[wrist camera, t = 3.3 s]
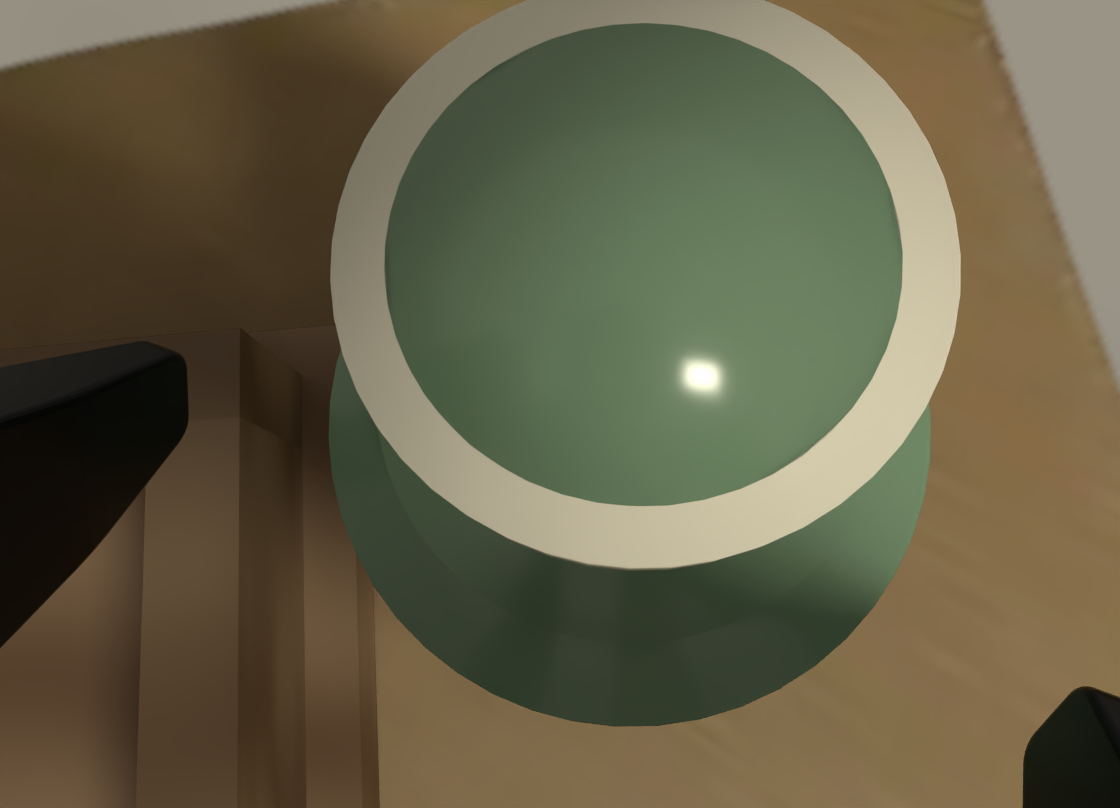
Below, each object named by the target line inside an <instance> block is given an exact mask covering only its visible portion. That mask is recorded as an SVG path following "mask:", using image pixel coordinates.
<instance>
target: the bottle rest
mask: <svg viewBox="0 0 1120 808" xmlns="http://www.w3.org/2000/svg"><path fill="white" fill-rule="evenodd" d="M138 341H148V342H152V343H155V344H158V345H160V346H163V347H166V348H169V349H171V350H174V351H177V352H178V353H180V354H181V355H182V356H183V357H184V359H185V361H186V364H187V377H188V405H189V421H188V426H187V429H186V432H185V434H184V436H183V438H182V439H181V441H180V442H179V444H178V445H177V446H176V448H175V449H174V450H173V451H172V453H171V454H170V455H169V457H168V458H167V459H166V460H165V462H164V463H163V464H162V466H161V467H160V468H159V469H158V471H157V472H156V473H155V474H154V476H153V477H152V478H151V480H150V481H149V482H148V483H147V485H146V486H145V487H144V489H143V490H142V491H141V492H140V494H139V495H138V496H137V497H136V499H135V500H134V501H133V503H132V504H131V505H130V506H129V508H128V509H127V510H126V512H125V513H124V514H123V515H122V517H121V518H120V519H119V520H118V522H117V523H116V524H115V526H114V527H113V528H112V529H111V531H110V532H109V533H108V534H107V536H106V537H105V538H104V539H103V540H102V542H101V543H100V544H99V545H98V546H97V548H96V549H95V550H94V551H93V552H92V553H91V554H90V556H89V557H88V558H87V559H86V560H85V561H84V562H83V563H82V564H81V565H80V566H79V568H78V569H77V570H76V571H75V572H74V573H73V574H72V575H71V576H70V577H69V578H68V579H67V580H66V581H65V582H64V583H63V584H62V585H61V586H60V587H59V588H58V589H57V590H56V591H55V592H54V593H53V595H52V596H51V597H50V598H49V599H48V600H47V601H46V602H45V603H44V604H43V605H42V606H41V607H40V608H39V609H38V610H37V611H36V612H35V613H34V614H33V615H32V616H31V617H30V618H29V619H28V620H27V621H26V622H25V623H24V625H23V626H22V627H21V628H20V629H19V630H18V631H17V632H16V633H15V634H14V635H13V636H12V637H11V638H10V639H9V640H8V641H7V642H6V643H5V644H4V645H3V646H2V647H1V648H0V808H380V803H379V769H378V735H377V702H376V668H375V635H374V601H373V584H372V582H371V580H370V578H369V577H368V575H367V573H366V571H365V569H364V567H363V565H362V564H361V562H360V560H359V558H358V556H357V554H356V552H355V550H354V548H353V545H352V543H351V540H350V537H349V535H348V532H347V529H346V527H345V524H344V521H343V519H342V516H341V513H340V509H339V504H338V500H337V495H336V491H335V487H334V482H333V478H332V470H331V459H330V448H329V416H330V398H331V392H332V387H333V381H334V375H335V369H336V364H337V360H338V357H339V354H340V351H341V346H340V341H339V337H338V333H337V329H336V325H325V326H314V327H303V328H292V329H281V330H270V331H259V332H248V333H246V332H245V331H243V330H242V329H241V328H234V329H224V330H213V331H202V332H191V333H180V334H169V335H158V336H147V337H136V338H125V339H114V340H103V341H92V342H81V343H70V344H60V345H49V346H38V347H27V348H16V349H5V350H0V367H4V366H10V365H15V364H20V363H26V362H31V361H36V360H42V359H47V358H52V357H58V356H63V355H68V354H74V353H79V352H84V351H90V350H95V349H100V348H106V347H111V346H116V345H122V344H127V343H132V342H138Z"/></svg>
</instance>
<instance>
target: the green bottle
mask: <svg viewBox="0 0 1120 808" xmlns="http://www.w3.org/2000/svg"><path fill="white" fill-rule="evenodd" d="M960 264H961V254H960V247H959V240H958V232H957V225H956V218H955V213H954V210H953V206H952V203H951V199H950V196H949V192H948V189H947V185H946V182H945V178H944V176H943V174H942V172H941V169H940V167H939V165H938V162H937V160H936V158H935V156H934V153H933V151H932V149H931V147H930V144H929V142H928V141H927V139H926V138H925V136H924V134H923V133H922V131H921V129H920V128H919V126H918V124H917V123H916V121H915V120H914V118H913V116H912V115H911V113H910V111H909V110H908V109H907V107H906V106H905V105H904V104H903V103H902V101H901V100H900V99H899V98H898V96H897V95H896V94H895V93H894V91H893V90H892V89H891V88H890V86H889V85H888V84H887V83H886V82H885V80H884V79H883V78H881V77H880V76H879V75H878V74H877V73H876V72H875V71H874V70H873V69H872V68H871V67H870V66H869V65H868V64H867V63H866V62H865V61H864V60H863V59H862V58H861V57H859V56H858V55H857V54H856V53H855V52H853V51H852V50H851V49H849V48H848V47H847V46H845V45H844V44H843V43H841V42H840V41H839V40H837V39H836V38H835V37H833V36H832V35H831V34H829V33H828V32H826V31H825V30H823V29H821V28H819V27H818V26H816V25H814V24H812V23H811V22H809V21H807V20H805V19H804V18H802V17H800V16H798V15H797V14H795V13H793V12H791V11H788V10H786V9H784V8H781V7H779V6H777V5H774V4H772V3H769V2H767V1H765V0H527V1H524V2H522V3H520V4H517V5H515V6H512V7H510V8H508V9H505V10H503V11H500V12H498V13H497V14H495V15H493V16H491V17H489V18H488V19H486V20H484V21H482V22H481V23H479V24H477V25H475V26H473V27H472V28H470V29H468V30H466V31H465V32H464V33H462V34H461V35H460V36H458V37H457V38H455V39H454V40H453V41H451V42H450V43H449V44H447V45H446V46H444V47H443V48H442V49H440V50H439V51H438V52H436V53H435V54H434V55H433V56H432V57H431V58H430V59H429V60H428V61H427V62H426V63H425V64H423V65H422V66H421V67H420V68H419V69H418V70H417V71H416V72H415V73H414V74H413V75H412V76H411V77H410V78H409V79H408V80H407V81H406V82H405V84H404V85H403V86H402V87H401V88H400V89H399V91H398V92H397V93H396V94H395V95H394V97H393V98H392V99H391V100H390V101H389V103H388V104H387V105H386V106H385V108H384V109H383V111H382V112H381V114H380V116H379V117H378V119H377V120H376V122H375V123H374V125H373V126H372V128H371V130H370V131H369V133H368V134H367V136H366V137H365V140H364V142H363V144H362V146H361V148H360V150H359V152H358V154H357V156H356V158H355V161H354V163H353V165H352V167H351V169H350V171H349V175H348V178H347V181H346V184H345V187H344V190H343V193H342V196H341V199H340V202H339V205H338V211H337V216H336V222H335V227H334V233H333V239H332V250H331V274H330V283H331V293H332V304H333V314H334V321H335V325H336V329H337V333H338V337H339V341H340V346H341V351H340V354H339V357H338V360H337V364H336V369H335V375H334V381H333V387H332V392H331V398H330V416H329V448H330V459H331V470H332V478H333V482H334V487H335V491H336V495H337V500H338V504H339V509H340V513H341V516H342V519H343V521H344V524H345V527H346V529H347V532H348V535H349V537H350V540H351V543H352V545H353V548H354V550H355V552H356V554H357V556H358V558H359V560H360V562H361V564H362V565H363V567H364V569H365V571H366V573H367V575H368V577H369V578H370V580H371V582H372V584H373V586H374V587H375V588H376V590H377V591H378V593H379V594H380V595H381V597H382V598H383V599H384V601H385V602H386V604H387V605H388V606H389V608H390V609H391V610H392V612H393V613H394V615H395V616H396V617H397V618H398V620H399V621H400V622H401V623H402V624H403V625H404V626H405V627H406V628H407V629H408V630H409V631H410V632H411V633H412V634H413V635H414V636H415V637H416V638H417V639H418V640H419V641H420V642H421V644H422V645H423V646H424V647H425V648H427V649H428V650H429V651H430V652H432V653H433V654H434V655H435V656H437V657H438V658H439V659H441V660H442V661H443V662H444V663H446V664H447V665H448V666H449V667H451V668H452V669H453V670H454V671H456V672H457V673H458V674H460V675H462V676H464V677H465V678H467V679H469V680H470V681H472V682H474V683H475V684H477V685H479V686H480V687H482V688H484V689H486V690H487V691H489V692H491V693H492V694H494V695H497V696H499V697H501V698H504V699H506V700H509V701H511V702H513V703H516V704H518V705H520V706H523V707H525V708H528V709H530V710H533V711H536V712H540V713H544V714H548V715H551V716H555V717H559V718H563V719H566V720H570V721H575V722H583V723H591V724H599V725H608V726H660V725H666V724H673V723H679V722H685V721H692V720H698V719H702V718H706V717H709V716H712V715H716V714H719V713H722V712H726V711H729V710H732V709H736V708H739V707H742V706H744V705H746V704H748V703H750V702H752V701H755V700H757V699H759V698H761V697H763V696H765V695H768V694H770V693H772V692H774V691H776V690H778V689H780V688H782V687H783V686H785V685H786V684H788V683H789V682H791V681H793V680H794V679H796V678H797V677H799V676H800V675H802V674H803V673H805V672H806V671H808V670H810V669H811V668H813V667H814V666H815V665H817V664H818V663H819V662H820V661H821V660H822V659H824V658H825V657H826V656H827V655H828V654H829V653H830V652H832V651H833V650H834V649H835V648H836V647H837V646H838V645H840V644H841V643H842V642H843V641H844V640H845V639H846V638H847V637H848V636H849V635H850V634H851V633H852V632H853V630H854V629H855V628H856V627H857V626H858V625H859V623H860V622H861V621H862V620H863V619H864V618H865V617H866V615H867V614H868V613H869V612H870V611H871V610H872V608H873V607H874V606H875V604H876V603H877V601H878V599H879V598H880V596H881V595H882V593H883V592H884V590H885V589H886V587H887V586H888V584H889V582H890V581H891V579H892V578H893V576H894V575H895V573H896V571H897V569H898V567H899V564H900V562H901V560H902V558H903V556H904V554H905V551H906V549H907V547H908V545H909V543H910V541H911V538H912V536H913V533H914V530H915V526H916V523H917V520H918V516H919V513H920V510H921V506H922V503H923V500H924V495H925V488H926V482H927V475H928V469H929V462H930V429H931V418H930V410H929V400H930V398H931V396H932V394H933V391H934V389H935V387H936V385H937V383H938V381H939V379H940V377H941V374H942V372H943V369H944V366H945V363H946V359H947V356H948V353H949V349H950V346H951V343H952V340H953V336H954V332H955V326H956V319H957V313H958V306H959V299H960Z"/></svg>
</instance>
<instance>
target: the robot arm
mask: <svg viewBox="0 0 1120 808" xmlns="http://www.w3.org/2000/svg"><path fill="white" fill-rule="evenodd" d="M188 421H189V405H188V377H187V364H186V361H185V359H184V357H183V356H182V355H181V354H180V353H178V352H177V351H174V350H171V349H169V348H166V347H163V346H160V345H158V344H155V343H152V342H148V341H138V342H132V343H127V344H122V345H116V346H111V347H106V348H100V349H95V350H90V351H84V352H79V353H74V354H68V355H63V356H58V357H52V358H47V359H42V360H36V361H31V362H26V363H20V364H15V365H10V366H4V367H0V648H1V647H2V646H3V645H4V644H5V643H6V642H7V641H8V640H9V639H10V638H11V637H12V636H13V635H14V634H15V633H16V632H17V631H18V630H19V629H20V628H21V627H22V626H23V625H24V623H25V622H26V621H27V620H28V619H29V618H30V617H31V616H32V615H33V614H34V613H35V612H36V611H37V610H38V609H39V608H40V607H41V606H42V605H43V604H44V603H45V602H46V601H47V600H48V599H49V598H50V597H51V596H52V595H53V593H54V592H55V591H56V590H57V589H58V588H59V587H60V586H61V585H62V584H63V583H64V582H65V581H66V580H67V579H68V578H69V577H70V576H71V575H72V574H73V573H74V572H75V571H76V570H77V569H78V568H79V566H80V565H81V564H82V563H83V562H84V561H85V560H86V559H87V558H88V557H89V556H90V554H91V553H92V552H93V551H94V550H95V549H96V548H97V546H98V545H99V544H100V543H101V542H102V540H103V539H104V538H105V537H106V536H107V534H108V533H109V532H110V531H111V529H112V528H113V527H114V526H115V524H116V523H117V522H118V520H119V519H120V518H121V517H122V515H123V514H124V513H125V512H126V510H127V509H128V508H129V506H130V505H131V504H132V503H133V501H134V500H135V499H136V497H137V496H138V495H139V494H140V492H141V491H142V490H143V489H144V487H145V486H146V485H147V483H148V482H149V481H150V480H151V478H152V477H153V476H154V474H155V473H156V472H157V471H158V469H159V468H160V467H161V466H162V464H163V463H164V462H165V460H166V459H167V458H168V457H169V455H170V454H171V453H172V451H173V450H174V449H175V448H176V446H177V445H178V444H179V442H180V441H181V439H182V438H183V436H184V434H185V432H186V429H187V426H188ZM1023 808H1120V697H1118V696H1115V695H1112V694H1110V693H1107V692H1104V691H1101V690H1099V689H1096V688H1093V687H1087V686H1083V687H1079V688H1077V689H1075V690H1073V691H1072V692H1071V693H1070V694H1069V695H1068V696H1067V697H1066V698H1065V700H1064V701H1063V702H1062V703H1061V704H1060V705H1059V706H1058V707H1057V709H1056V710H1055V711H1054V712H1053V713H1052V714H1051V715H1050V716H1049V718H1048V719H1047V720H1046V721H1045V722H1044V723H1043V724H1042V725H1041V727H1040V728H1039V729H1038V730H1037V731H1036V732H1035V733H1034V735H1033V736H1032V737H1031V739H1030V741H1029V743H1028V745H1027V748H1026V751H1025V755H1024V763H1023Z"/></svg>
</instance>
